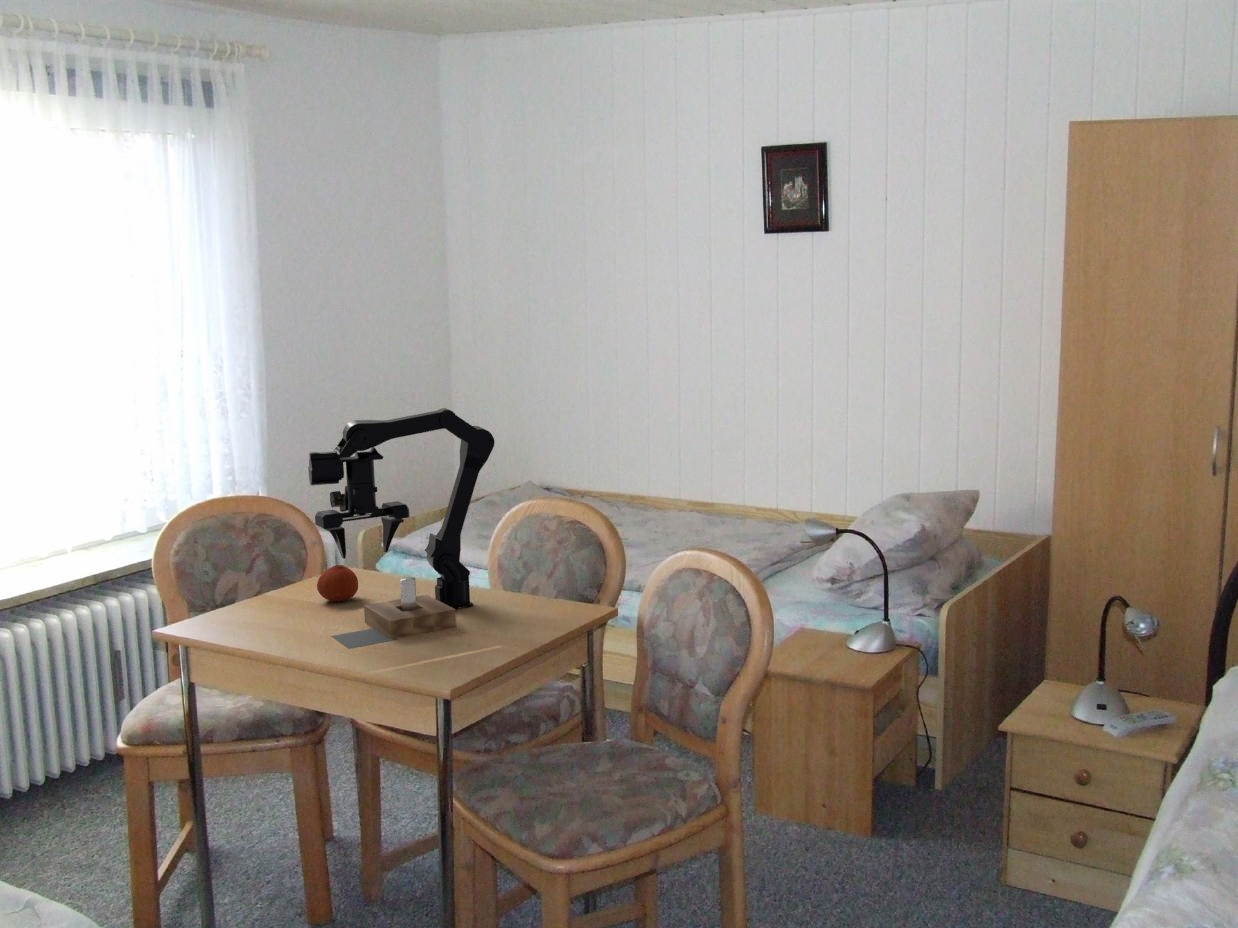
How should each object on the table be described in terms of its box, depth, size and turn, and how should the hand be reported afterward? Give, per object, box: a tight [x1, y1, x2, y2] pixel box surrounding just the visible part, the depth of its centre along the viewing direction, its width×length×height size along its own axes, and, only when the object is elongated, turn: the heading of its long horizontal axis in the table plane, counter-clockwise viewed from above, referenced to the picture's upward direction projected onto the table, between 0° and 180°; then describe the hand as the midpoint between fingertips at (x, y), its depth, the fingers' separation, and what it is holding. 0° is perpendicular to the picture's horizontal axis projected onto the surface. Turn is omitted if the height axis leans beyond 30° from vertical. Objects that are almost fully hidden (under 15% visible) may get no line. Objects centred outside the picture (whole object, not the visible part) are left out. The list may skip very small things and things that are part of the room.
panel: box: [331, 627, 399, 650], centre depth 246 cm, size 10×10×1 cm
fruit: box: [316, 564, 359, 603], centre depth 275 cm, size 9×9×8 cm
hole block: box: [363, 594, 457, 639], centre depth 254 cm, size 14×14×4 cm
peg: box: [399, 576, 417, 612], centre depth 254 cm, size 3×3×10 cm
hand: (364, 555), depth 261 cm, fingers open, 9 cm apart
